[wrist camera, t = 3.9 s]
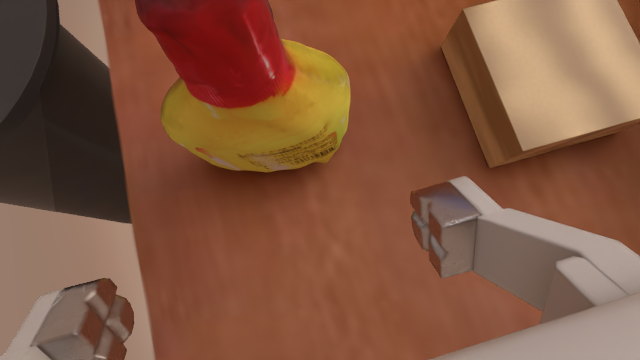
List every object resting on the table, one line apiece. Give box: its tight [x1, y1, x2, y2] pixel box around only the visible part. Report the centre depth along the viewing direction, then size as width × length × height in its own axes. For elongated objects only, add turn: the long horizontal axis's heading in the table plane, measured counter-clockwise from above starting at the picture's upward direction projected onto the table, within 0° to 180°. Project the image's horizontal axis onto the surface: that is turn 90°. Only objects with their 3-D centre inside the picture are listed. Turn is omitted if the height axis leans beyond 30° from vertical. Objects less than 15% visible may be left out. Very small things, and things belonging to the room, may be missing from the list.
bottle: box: [135, 0, 350, 172], centre depth 20 cm, size 12×6×20 cm, turn 98°
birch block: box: [441, 0, 640, 168], centre depth 29 cm, size 12×12×5 cm
